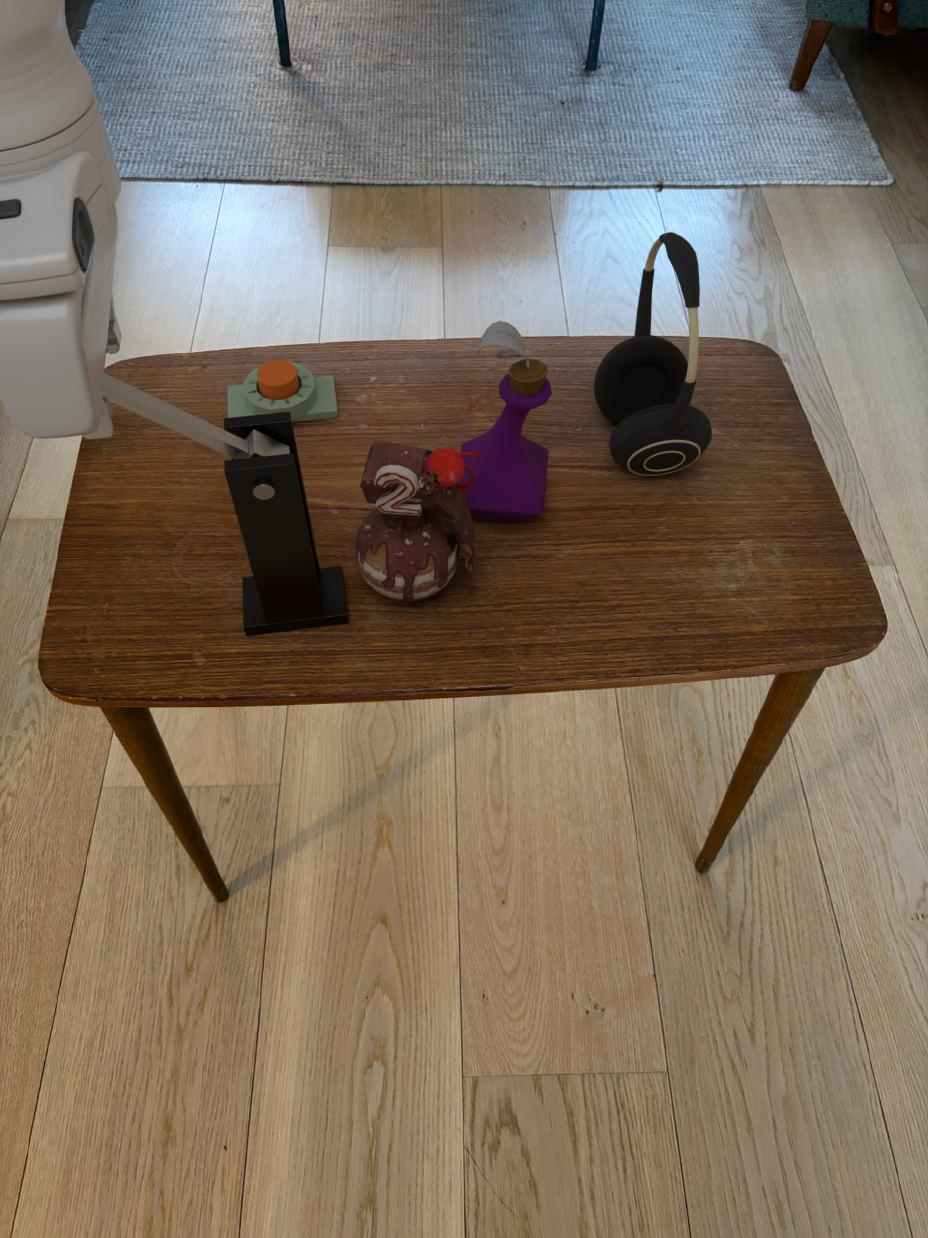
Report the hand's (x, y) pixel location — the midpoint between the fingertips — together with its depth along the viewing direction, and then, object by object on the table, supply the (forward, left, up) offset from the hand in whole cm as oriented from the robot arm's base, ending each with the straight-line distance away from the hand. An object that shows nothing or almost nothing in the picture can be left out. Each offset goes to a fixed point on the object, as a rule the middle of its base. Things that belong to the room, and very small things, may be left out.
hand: (104, 387), depth 59 cm
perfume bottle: (+26, +8, -24) cm, 36 cm away
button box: (+8, +24, -23) cm, 34 cm away
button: (+8, +24, -21) cm, 33 cm away
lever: (+3, 0, -4) cm, 5 cm away
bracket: (+8, 0, -23) cm, 25 cm away
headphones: (+40, +13, -24) cm, 48 cm away
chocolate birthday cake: (+18, +1, -24) cm, 30 cm away
